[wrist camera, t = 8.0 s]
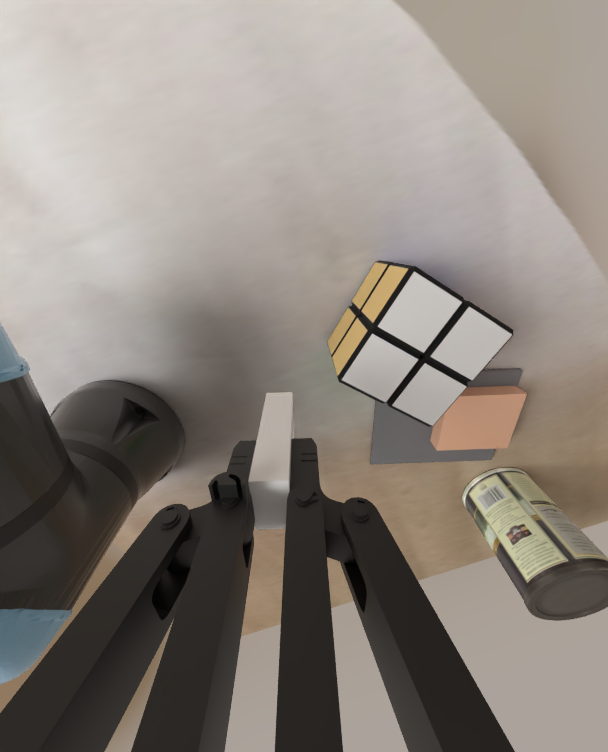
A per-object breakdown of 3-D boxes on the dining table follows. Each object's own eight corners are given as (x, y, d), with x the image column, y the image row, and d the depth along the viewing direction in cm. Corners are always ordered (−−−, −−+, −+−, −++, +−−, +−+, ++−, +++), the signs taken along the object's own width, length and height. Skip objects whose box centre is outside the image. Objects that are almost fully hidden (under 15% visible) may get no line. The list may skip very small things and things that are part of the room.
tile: (436, 450, 36) (507, 448, 36) (448, 396, 32) (527, 393, 32) (429, 439, 38) (496, 437, 38) (440, 387, 34) (514, 384, 34)
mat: (370, 462, 40) (370, 464, 40) (378, 373, 34) (378, 375, 33) (489, 457, 40) (491, 459, 40) (519, 368, 34) (522, 370, 33)
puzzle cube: (453, 306, 30) (519, 332, 21) (397, 381, 34) (433, 430, 25) (376, 258, 28) (412, 264, 19) (325, 343, 32) (335, 382, 23)
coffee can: (508, 517, 46) (588, 625, 33) (450, 509, 45) (510, 617, 32) (545, 471, 41) (653, 575, 29) (482, 461, 40) (565, 564, 28)
